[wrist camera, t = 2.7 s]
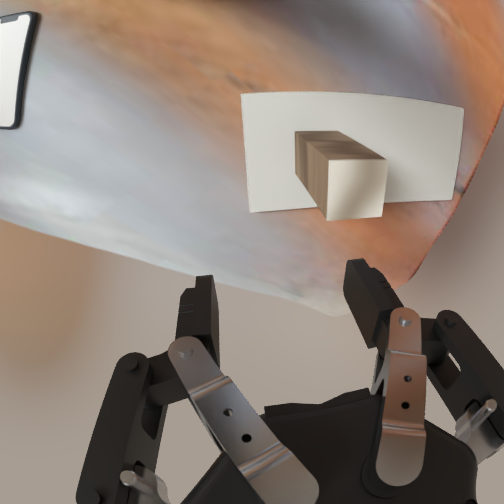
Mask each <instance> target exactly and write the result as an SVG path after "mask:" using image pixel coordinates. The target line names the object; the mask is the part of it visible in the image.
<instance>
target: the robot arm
mask: <svg viewBox="0 0 504 504" xmlns="http://www.w3.org/2000/svg"><path fill="white" fill-rule="evenodd" d="M343 291H344V296H345V299H346V301H347V303H348V305H349V308H350V310H351V312H352V314H353V316H354V318H355V320H356V323H357V325H358V327H359V329H360V331H361V334H362V336H363V338H364V340H365V343H366V345H367V347H368V349H369V348H374V347H377V349H378V353H377V356H376V363H375V370H374V376H373V383H372V388H371V392H370V391H369V389H368V388H364V389H360V390H356V391H352V392H347V393H344V394H341V395H339V396H338V397H335V398H333V399H331V400H329V401H326V402H324V403H322V404H301V403H287V404H280V405H272V406H265V407H264V410H265V414H262V415H258V414H257V413H256V411H255V410H254V409H253V407H252V406H251V405H250V404H249V402H248V401H247V400H246V398H245V397H244V396H243V394H242V393H241V392H240V391H239V389H238V388H237V386H236V385H235V384H234V382H233V381H232V380H231V379H230V378H229V377H228V376H226V377H225V376H224V375H223V373H222V372H221V371H220V354H219V310H218V301H217V296H216V290H215V284H214V279H213V275H205V276H196V285H195V288H187V289H186V290H185V291H184V292H183V294H182V295H181V297H180V307H179V314H178V321H177V328H176V337H175V341H173V342H172V343H171V344H170V346H169V348H168V351H166V352H164V353H162V354H160V355H157V356H153V357H151V358H147V357H146V356H145V355H143V354H141V353H136V352H134V353H129V354H126V355H125V356H123V357H122V358H120V359H119V361H118V362H117V364H116V367H115V369H114V372H113V375H112V378H111V380H110V383H109V386H108V389H107V392H106V395H105V398H104V400H103V403H102V406H101V409H100V412H99V415H98V418H97V422H96V425H95V428H94V431H93V434H92V437H91V441H90V444H89V447H88V451H87V454H86V458H85V462H84V465H83V469H82V472H81V476H80V480H79V484H78V488H77V492H76V502H77V504H171V503H170V502H169V500H168V496H167V487H166V484H165V483H164V481H163V480H162V479H161V478H160V477H158V476H157V475H156V474H155V468H156V463H157V458H158V451H159V447H160V442H161V437H162V432H163V427H164V422H165V417H166V412H167V408H168V404H170V403H174V402H177V401H180V400H183V399H186V398H188V399H189V401H190V403H191V405H192V406H193V408H194V410H195V411H196V413H197V415H198V416H199V418H200V420H201V421H202V423H203V425H204V426H205V428H206V430H207V431H208V433H209V435H210V436H211V438H212V440H213V441H214V443H215V445H216V446H217V447H218V449H219V451H220V452H221V454H220V455H219V457H218V458H217V459H216V461H215V462H214V463H213V465H212V466H211V467H210V468H209V470H208V471H207V472H206V473H205V475H204V476H203V477H202V478H201V480H200V481H199V482H198V483H197V485H196V486H195V487H194V488H193V489H192V491H191V492H190V493H189V494H188V495H187V497H186V498H185V499H184V500H183V501H182V503H181V504H478V503H477V500H476V477H477V470H478V467H477V465H478V464H479V463H481V462H482V461H483V460H485V459H486V458H489V457H490V456H492V455H493V454H494V453H496V452H497V451H498V450H500V449H501V448H502V447H504V370H503V368H502V367H501V366H500V364H499V363H498V362H497V360H496V359H495V358H494V356H493V355H492V354H491V353H490V351H489V350H488V349H487V348H486V346H485V345H484V344H483V343H482V341H481V340H480V339H479V338H478V337H477V335H476V334H475V333H474V332H473V330H472V329H471V328H470V327H469V326H468V325H467V323H466V322H465V321H464V320H463V319H462V318H461V316H459V315H458V314H457V313H456V312H454V311H450V310H443V311H441V312H439V313H438V315H437V318H436V319H430V318H420V317H419V315H418V314H417V313H416V312H415V311H414V310H412V309H410V308H405V307H404V306H403V304H402V303H401V301H400V300H399V298H398V297H397V295H396V293H395V292H394V290H393V289H392V288H391V286H390V284H389V283H388V282H387V280H386V278H385V277H384V275H383V274H382V273H381V272H380V271H378V270H377V269H376V268H370V267H369V266H368V264H367V263H366V261H365V260H364V259H363V258H361V259H353V260H348V261H347V264H346V271H345V278H344V285H343ZM449 353H451V354H452V356H453V357H454V358H455V360H456V361H457V363H458V364H459V366H460V369H461V372H460V371H459V369H458V368H457V367H456V365H455V364H454V362H453V361H452V360H451V358H450V357H449V356H448V354H449ZM426 375H427V376H428V378H429V379H430V381H431V383H432V384H433V386H434V387H435V389H436V390H437V392H438V393H439V395H440V397H441V398H442V400H443V401H444V403H445V405H446V406H447V408H448V409H449V411H450V412H451V414H452V416H453V417H454V419H455V421H456V427H455V429H456V433H455V437H454V436H452V435H451V434H449V433H447V432H446V431H444V430H442V429H441V428H439V427H437V426H436V425H434V424H432V423H431V422H429V421H427V420H426V419H424V418H425V417H424V416H425V402H426Z"/></svg>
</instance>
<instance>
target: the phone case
mask: <svg viewBox="0 0 504 504" xmlns="http://www.w3.org/2000/svg"><path fill="white" fill-rule="evenodd" d="M36 21H37V14H36V13H35V12H31V11H27V12H22V13H16V14H11V15H7V16H2V17H0V129H13V128H16V127H17V126H18V124H19V122H20V115H21V104H22V95H23V87H24V80H25V74H26V68H27V62H28V57H29V52H30V47H31V42H32V38H33V33H34V29H35V25H36Z"/></svg>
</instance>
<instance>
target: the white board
mask: <svg viewBox="0 0 504 504" xmlns="http://www.w3.org/2000/svg"><path fill="white" fill-rule="evenodd" d="M240 95H241V108H242V121H243V135H244V148H245V161H246V174H247V188H248V201H249V210H250V213H253V212H264V211H275V210H286V209H298V208H311V207H318V206H317V204H316V203H315V201H314V200H313V199H312V197H311V196H310V194H309V193H308V191H307V190H306V188H305V187H304V185H303V184H302V182H301V181H300V180H299V178H298V177H297V175H296V174H295V131H339V132H341V133H343V134H344V135H346V136H348V137H350V138H352V139H353V140H355V141H357V142H359V143H360V144H362V145H364V146H365V147H367V148H369V149H371V150H372V151H374V152H376V153H377V154H379V155H380V156H382V157H384V158H385V159H387V160H388V169H387V179H386V187H385V196H384V203H388V202H409V201H434V200H452V195H453V190H454V185H455V179H456V173H457V167H458V161H459V154H460V146H461V138H462V129H463V117H464V108H461V107H457V106H453V105H448V104H442V103H437V102H431V101H425V100H419V99H412V98H404V97H397V96H388V95H378V94H366V93H352V92H330V91H278V92H256V93H241V94H240Z"/></svg>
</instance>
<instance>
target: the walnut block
mask: <svg viewBox="0 0 504 504" xmlns="http://www.w3.org/2000/svg"><path fill="white" fill-rule="evenodd" d="M387 169H388V160H387V159H385V158H384V157H382V156H380V155H379V154H377V153H376V152H374V151H372V150H371V149H369V148H367V147H365V146H364V145H362V144H360V143H359V142H357V141H355V140H353V139H352V138H350V137H348V136H346V135H344V134H343V133H341V132H339V131H295V174H296V175H297V177H298V178H299V180H300V181H301V182H302V184H303V185H304V187H305V188H306V190H307V191H308V193H309V194H310V196H311V197H312V199H313V200H314V201H315V203H316V204H317V206H318V207H319V209H320V210H321V212H322V214H323V215H324V217H325V218H326V220H327V221H332V220H344V219H357V218H370V217H382V211H383V203H384V196H385V187H386V179H387Z"/></svg>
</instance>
